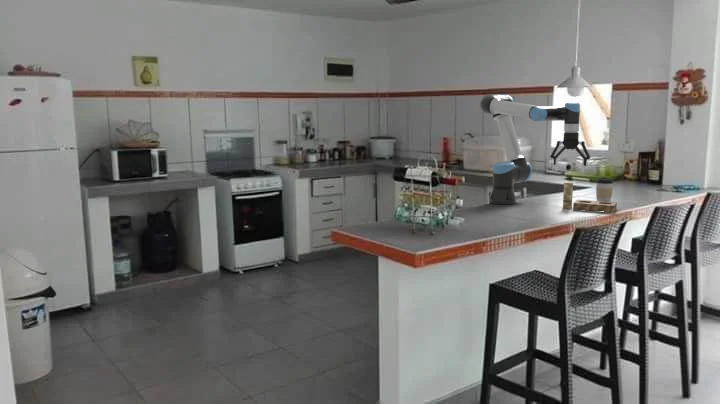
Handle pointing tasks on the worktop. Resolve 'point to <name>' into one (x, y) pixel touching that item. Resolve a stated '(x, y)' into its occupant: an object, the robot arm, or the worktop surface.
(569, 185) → the leg
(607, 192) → the coffee cup
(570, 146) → the robot arm
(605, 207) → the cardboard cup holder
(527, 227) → the worktop surface
